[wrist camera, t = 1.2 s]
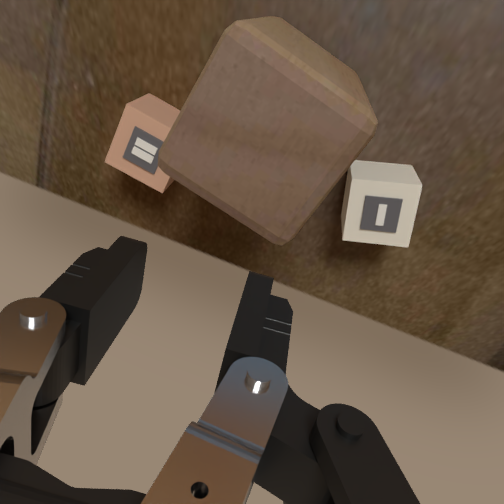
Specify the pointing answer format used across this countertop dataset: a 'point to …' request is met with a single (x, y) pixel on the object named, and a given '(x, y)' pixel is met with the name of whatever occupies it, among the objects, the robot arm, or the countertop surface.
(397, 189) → the cream cube
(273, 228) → the wooden block
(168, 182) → the pink cube
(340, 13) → the countertop surface
